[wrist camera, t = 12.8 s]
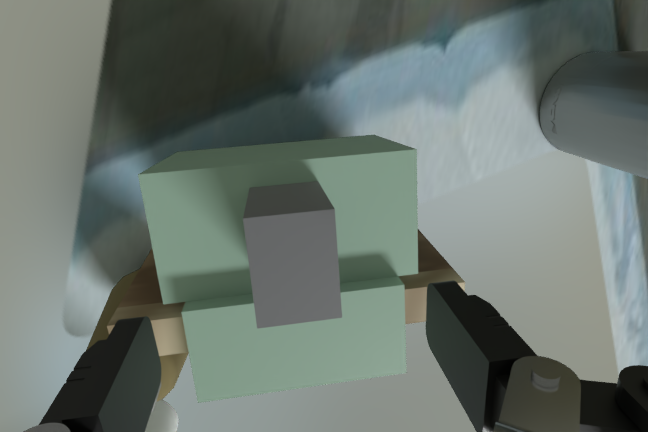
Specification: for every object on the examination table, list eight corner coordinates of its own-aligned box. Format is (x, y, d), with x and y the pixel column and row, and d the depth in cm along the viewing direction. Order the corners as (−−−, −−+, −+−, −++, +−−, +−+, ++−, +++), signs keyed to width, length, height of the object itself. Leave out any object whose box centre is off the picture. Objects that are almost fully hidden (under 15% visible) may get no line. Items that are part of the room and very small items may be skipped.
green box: (374, 134, 27) (465, 166, 14) (380, 290, 30) (461, 430, 17) (177, 151, 26) (90, 202, 13) (204, 312, 28) (153, 479, 16)
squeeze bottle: (120, 320, 42) (23, 499, 25) (121, 245, 39) (14, 388, 22) (206, 326, 43) (169, 498, 26) (212, 253, 40) (176, 394, 24)
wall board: (371, 176, 40) (464, 282, 21) (372, 244, 42) (457, 393, 24) (183, 193, 38) (106, 325, 19) (196, 264, 41) (139, 440, 22)
